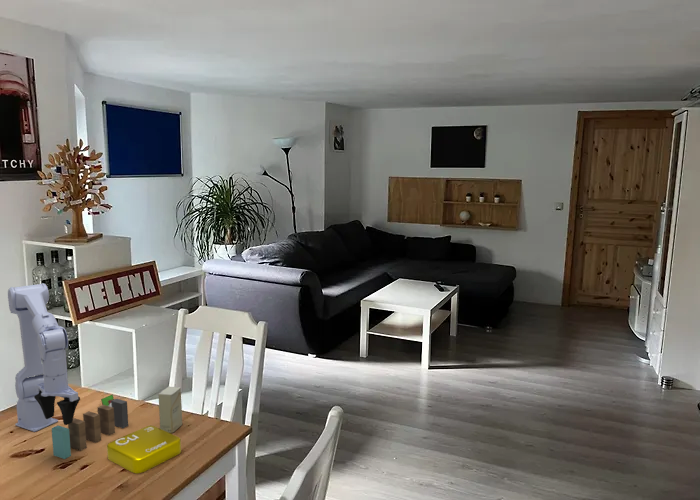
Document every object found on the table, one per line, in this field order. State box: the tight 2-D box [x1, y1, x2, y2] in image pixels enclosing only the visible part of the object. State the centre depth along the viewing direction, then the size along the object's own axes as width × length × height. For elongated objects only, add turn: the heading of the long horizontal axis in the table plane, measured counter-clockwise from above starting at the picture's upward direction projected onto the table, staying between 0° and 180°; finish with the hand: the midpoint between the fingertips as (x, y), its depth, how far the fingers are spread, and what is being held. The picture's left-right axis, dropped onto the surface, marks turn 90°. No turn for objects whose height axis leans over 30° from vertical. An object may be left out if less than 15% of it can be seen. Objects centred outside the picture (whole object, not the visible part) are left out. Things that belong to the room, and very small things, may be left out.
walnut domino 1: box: [67, 417, 87, 452], centre depth 159 cm, size 4×2×8 cm, turn 64°
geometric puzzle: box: [100, 393, 115, 407], centre depth 179 cm, size 7×7×8 cm
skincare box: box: [157, 385, 183, 434], centre depth 171 cm, size 6×4×12 cm
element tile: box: [106, 425, 182, 474], centre depth 156 cm, size 15×15×5 cm
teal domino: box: [51, 424, 72, 460], centre depth 155 cm, size 4×2×8 cm, turn 64°
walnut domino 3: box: [97, 404, 116, 436], centre depth 168 cm, size 4×2×8 cm, turn 64°
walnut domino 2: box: [82, 410, 102, 444], centre depth 164 cm, size 4×2×8 cm, turn 64°
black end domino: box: [111, 398, 129, 429], centre depth 173 cm, size 4×2×8 cm, turn 64°
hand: (58, 420), depth 154 cm, fingers open, 7 cm apart
